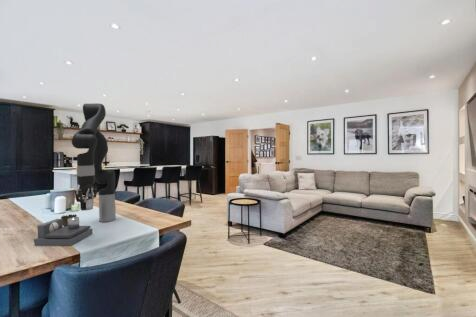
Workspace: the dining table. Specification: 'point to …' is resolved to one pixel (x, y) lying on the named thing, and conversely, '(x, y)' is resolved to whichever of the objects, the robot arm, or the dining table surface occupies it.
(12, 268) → the dining table surface
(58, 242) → the scale base
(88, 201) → the steel spacer
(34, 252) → the dining table surface
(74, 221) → the steel spacer
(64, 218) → the cup
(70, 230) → the pan
